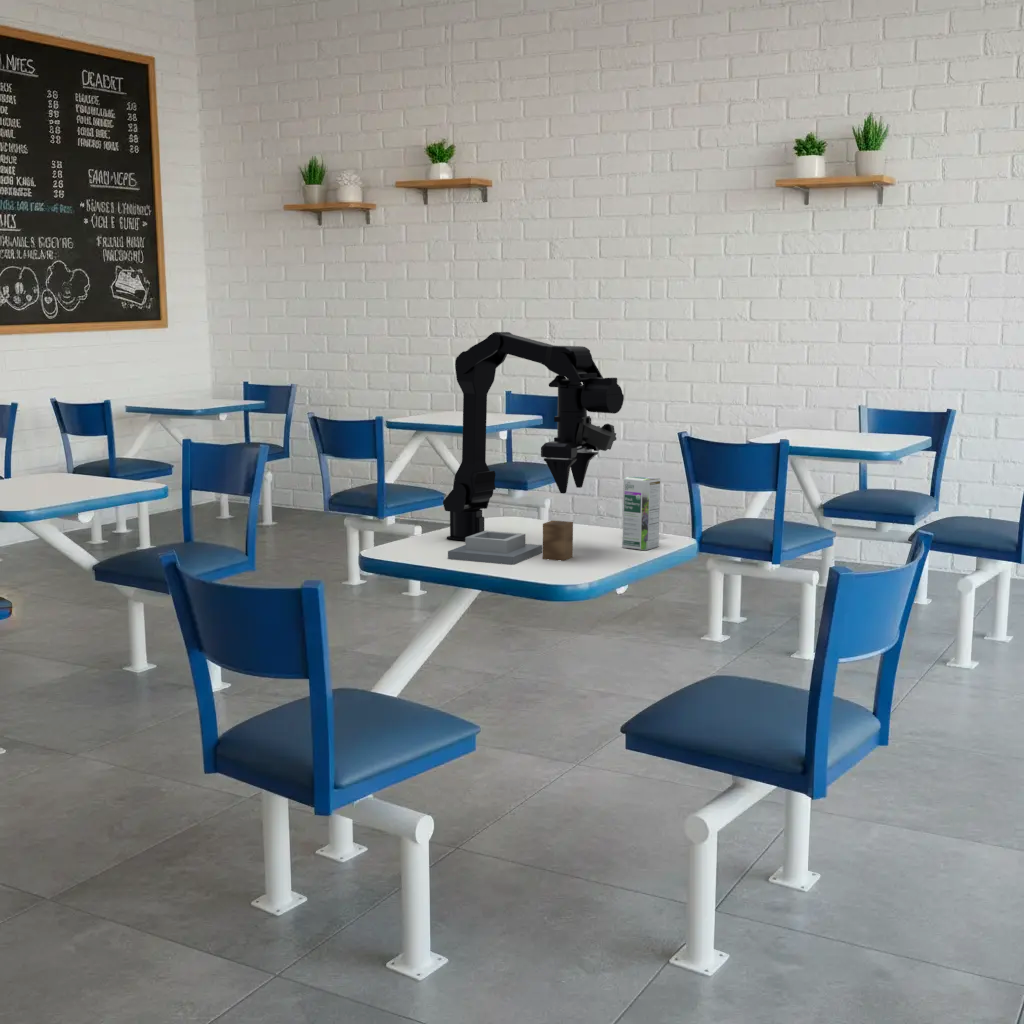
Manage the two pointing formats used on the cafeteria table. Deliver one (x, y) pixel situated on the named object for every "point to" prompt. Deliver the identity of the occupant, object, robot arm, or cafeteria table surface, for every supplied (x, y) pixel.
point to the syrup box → (641, 512)
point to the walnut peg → (557, 540)
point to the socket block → (495, 548)
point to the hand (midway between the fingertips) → (571, 490)
